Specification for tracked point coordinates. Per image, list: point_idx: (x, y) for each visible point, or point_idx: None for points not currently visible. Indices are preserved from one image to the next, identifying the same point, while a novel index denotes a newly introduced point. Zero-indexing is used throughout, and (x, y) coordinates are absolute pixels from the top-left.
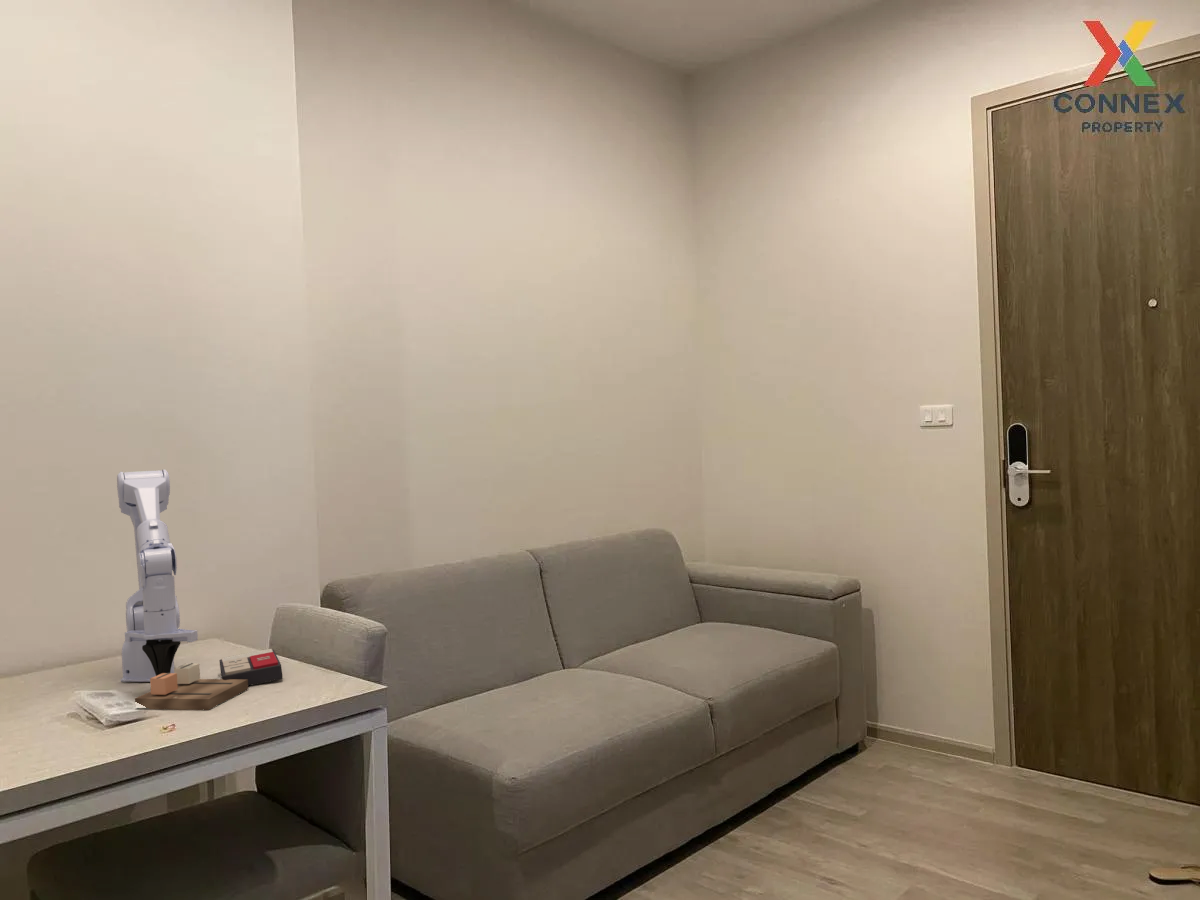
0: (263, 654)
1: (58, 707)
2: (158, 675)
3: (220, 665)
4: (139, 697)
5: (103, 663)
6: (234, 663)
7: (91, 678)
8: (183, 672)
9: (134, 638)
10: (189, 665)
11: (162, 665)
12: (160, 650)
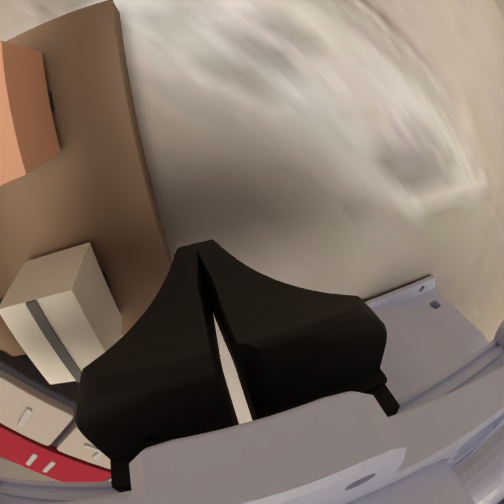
0: (87, 481)
1: (443, 26)
2: (1, 117)
3: None
4: (95, 16)
5: (488, 335)
6: (80, 439)
7: (488, 271)
8: (27, 289)
9: (494, 364)
10: (57, 355)
11: (162, 286)
12: (126, 354)
